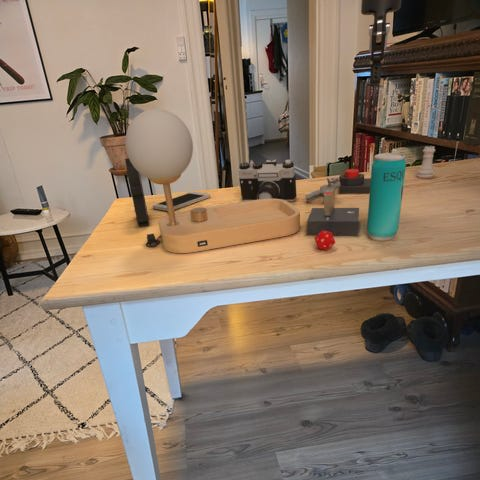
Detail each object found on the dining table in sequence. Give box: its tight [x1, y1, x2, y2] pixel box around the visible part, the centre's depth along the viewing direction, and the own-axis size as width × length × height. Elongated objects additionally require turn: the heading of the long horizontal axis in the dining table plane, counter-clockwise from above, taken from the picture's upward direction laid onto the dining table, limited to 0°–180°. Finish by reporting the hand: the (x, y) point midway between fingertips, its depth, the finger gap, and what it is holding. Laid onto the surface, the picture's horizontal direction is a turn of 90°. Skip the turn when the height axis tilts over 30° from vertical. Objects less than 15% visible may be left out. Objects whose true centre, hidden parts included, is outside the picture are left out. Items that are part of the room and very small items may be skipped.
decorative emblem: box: [124, 157, 150, 228], centre depth 98 cm, size 12×2×15 cm, turn 12°
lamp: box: [124, 108, 301, 254], centre depth 83 cm, size 33×17×25 cm, turn 105°
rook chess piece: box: [416, 145, 436, 179], centre depth 114 cm, size 4×4×8 cm
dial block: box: [304, 207, 360, 237], centre depth 86 cm, size 11×11×3 cm
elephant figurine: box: [304, 176, 341, 204], centre depth 102 cm, size 10×6×9 cm
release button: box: [344, 168, 360, 178], centre depth 110 cm, size 4×4×2 cm
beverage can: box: [366, 152, 407, 242], centre depth 76 cm, size 6×6×15 cm
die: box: [313, 230, 336, 252], centre depth 76 cm, size 4×4×4 cm
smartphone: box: [152, 191, 211, 212], centre depth 113 cm, size 7×15×1 cm, turn 139°
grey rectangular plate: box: [323, 187, 336, 217], centre depth 85 cm, size 6×1×5 cm, turn 162°
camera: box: [237, 159, 297, 202], centre depth 104 cm, size 15×11×10 cm
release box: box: [338, 172, 371, 194], centre depth 110 cm, size 10×9×4 cm
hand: (374, 84), depth 88 cm, fingers closed
